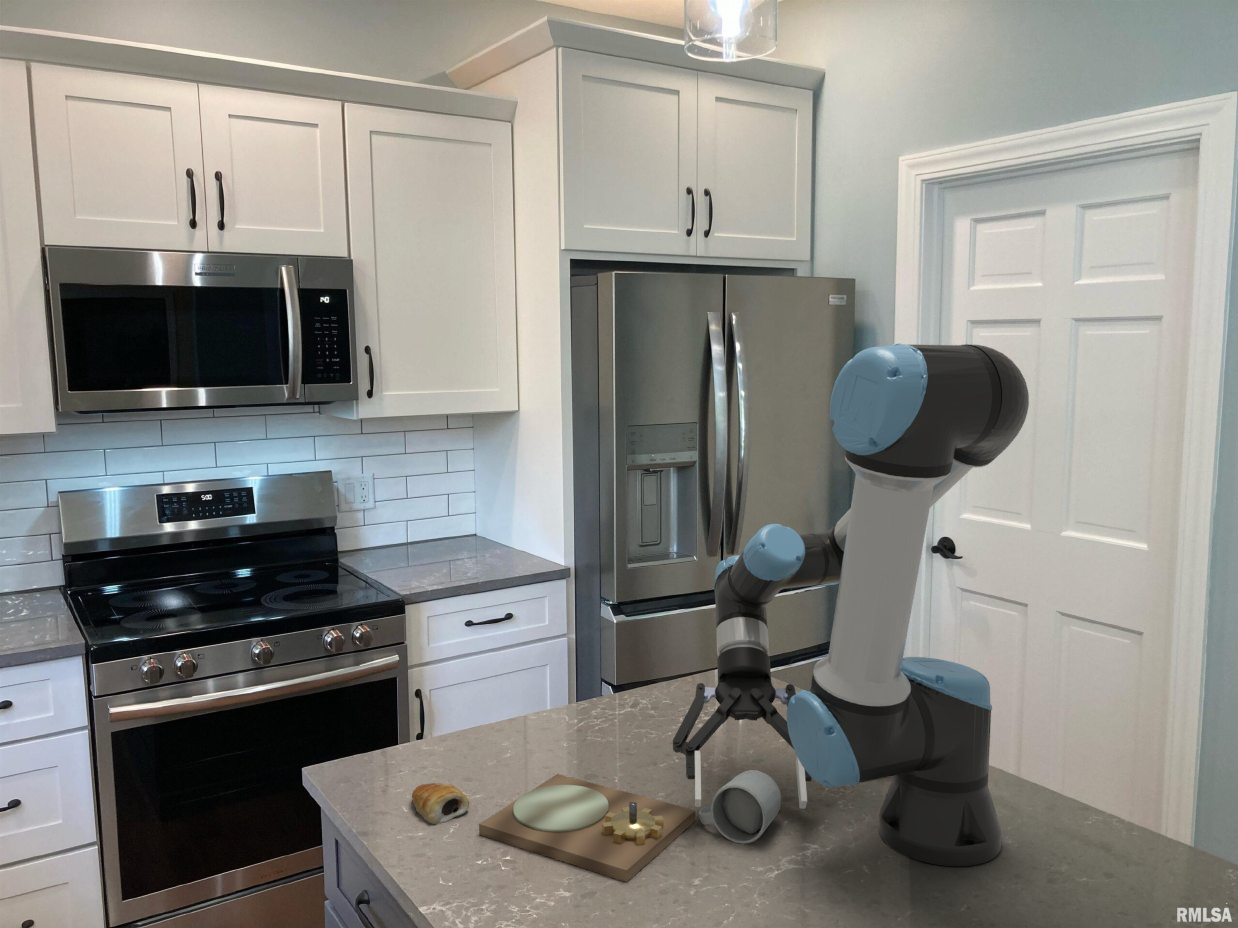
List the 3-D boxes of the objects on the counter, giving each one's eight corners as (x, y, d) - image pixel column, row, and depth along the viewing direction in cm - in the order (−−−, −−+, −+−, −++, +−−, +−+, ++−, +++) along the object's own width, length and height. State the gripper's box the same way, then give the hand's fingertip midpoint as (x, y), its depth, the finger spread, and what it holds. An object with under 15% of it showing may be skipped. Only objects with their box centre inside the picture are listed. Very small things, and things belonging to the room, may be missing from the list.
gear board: (695, 820, 130) (695, 806, 129) (627, 881, 114) (626, 866, 114) (557, 783, 142) (557, 770, 142) (479, 834, 126) (478, 820, 126)
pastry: (400, 804, 136) (399, 779, 136) (441, 791, 140) (441, 766, 140) (432, 828, 129) (431, 801, 128) (475, 813, 133) (474, 787, 133)
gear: (674, 824, 126) (674, 798, 125) (644, 850, 119) (643, 823, 118) (623, 810, 130) (622, 784, 129) (590, 834, 123) (590, 808, 123)
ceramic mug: (784, 822, 129) (784, 767, 128) (765, 849, 122) (764, 791, 121) (712, 807, 134) (711, 755, 133) (689, 833, 127) (687, 777, 126)
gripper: (827, 669, 139) (843, 815, 126) (657, 667, 141) (655, 811, 128) (834, 644, 133) (851, 795, 120) (656, 643, 135) (653, 791, 122)
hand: (750, 804), depth 124 cm, fingers open, 13 cm apart
